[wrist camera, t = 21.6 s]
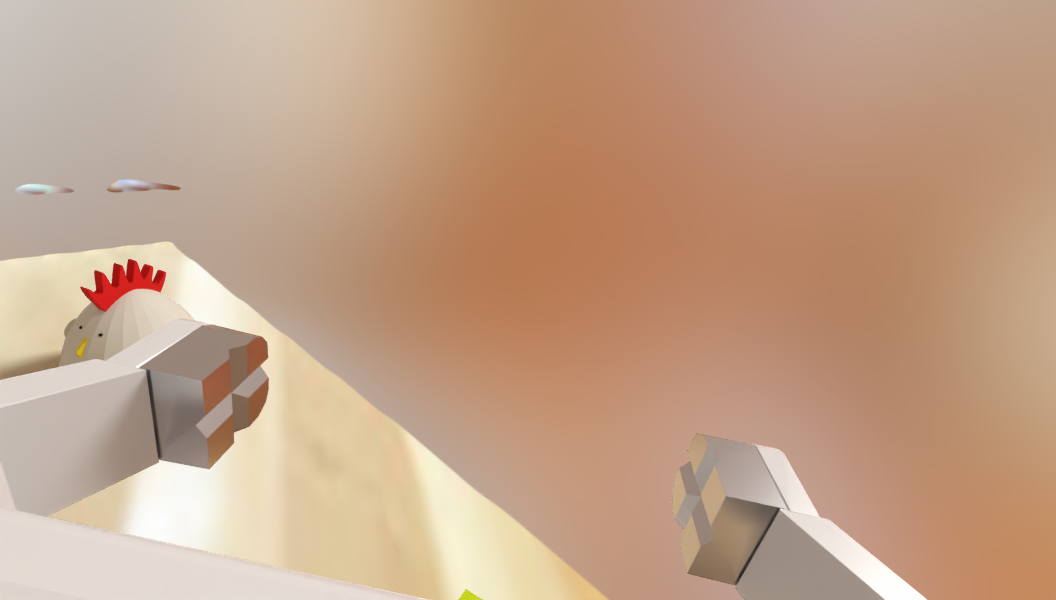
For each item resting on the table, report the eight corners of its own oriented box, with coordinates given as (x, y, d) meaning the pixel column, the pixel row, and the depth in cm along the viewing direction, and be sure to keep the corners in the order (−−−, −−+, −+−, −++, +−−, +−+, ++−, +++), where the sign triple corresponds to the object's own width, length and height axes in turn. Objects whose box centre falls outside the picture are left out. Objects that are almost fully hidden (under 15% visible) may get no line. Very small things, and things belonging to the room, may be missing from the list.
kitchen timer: (25, 393, 53) (-9, 262, 46) (149, 338, 65) (135, 228, 59) (132, 438, 50) (111, 306, 44) (240, 372, 63) (235, 261, 56)
